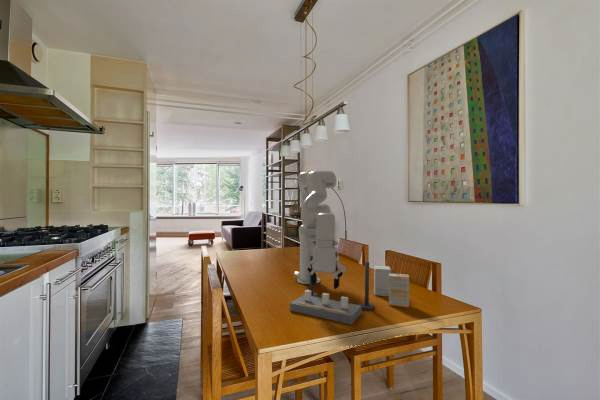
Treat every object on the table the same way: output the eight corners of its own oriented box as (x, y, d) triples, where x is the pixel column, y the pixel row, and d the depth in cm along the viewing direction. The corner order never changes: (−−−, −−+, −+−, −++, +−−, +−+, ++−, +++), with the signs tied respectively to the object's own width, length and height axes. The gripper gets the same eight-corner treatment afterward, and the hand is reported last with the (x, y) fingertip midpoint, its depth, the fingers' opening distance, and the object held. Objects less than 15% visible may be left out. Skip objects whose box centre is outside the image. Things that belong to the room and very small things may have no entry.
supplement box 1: (390, 296, 138) (391, 269, 137) (374, 295, 139) (374, 268, 139) (389, 291, 145) (389, 266, 145) (373, 290, 146) (374, 265, 146)
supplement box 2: (408, 304, 127) (409, 274, 127) (409, 308, 123) (409, 277, 123) (388, 302, 130) (389, 272, 130) (388, 305, 126) (388, 275, 126)
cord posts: (302, 297, 135) (302, 256, 135) (308, 294, 140) (309, 254, 140) (371, 311, 119) (372, 264, 119) (375, 306, 124) (376, 261, 124)
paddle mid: (321, 303, 118) (322, 294, 118) (323, 302, 119) (323, 292, 119) (327, 305, 117) (327, 295, 117) (329, 303, 118) (329, 293, 118)
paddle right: (340, 307, 114) (340, 297, 114) (342, 306, 116) (342, 296, 116) (346, 308, 113) (346, 298, 113) (348, 307, 114) (348, 297, 114)
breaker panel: (290, 310, 119) (290, 302, 119) (304, 301, 130) (304, 294, 130) (351, 324, 107) (351, 315, 107) (361, 313, 117) (361, 305, 117)
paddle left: (304, 300, 122) (304, 290, 122) (306, 299, 123) (306, 289, 123) (309, 301, 121) (309, 291, 121) (311, 300, 122) (311, 290, 122)
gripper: (349, 244, 117) (348, 287, 117) (310, 240, 126) (310, 280, 126) (342, 246, 111) (341, 292, 111) (302, 243, 119) (301, 285, 119)
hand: (324, 286), depth 118 cm, fingers open, 9 cm apart
